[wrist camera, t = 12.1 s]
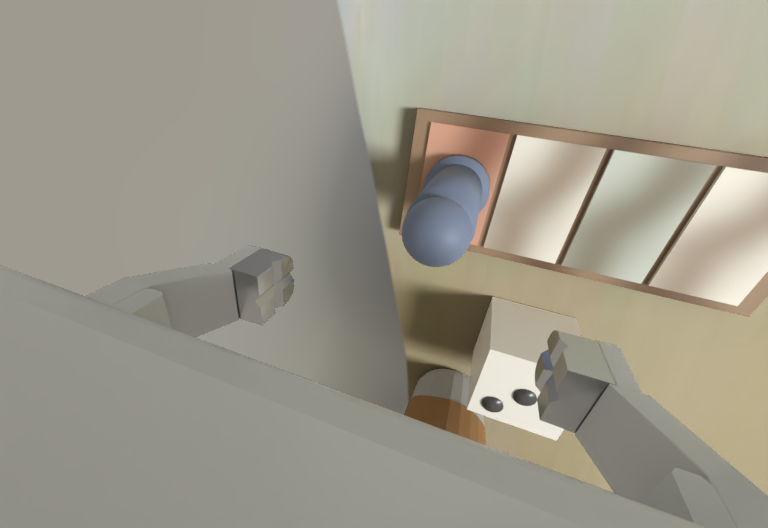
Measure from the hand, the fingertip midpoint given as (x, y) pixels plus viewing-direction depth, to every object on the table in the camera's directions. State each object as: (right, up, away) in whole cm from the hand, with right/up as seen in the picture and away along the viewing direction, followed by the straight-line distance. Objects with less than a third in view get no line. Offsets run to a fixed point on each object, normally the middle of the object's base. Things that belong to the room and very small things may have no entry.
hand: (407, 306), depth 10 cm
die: (+10, -4, +15) cm, 19 cm away
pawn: (+4, +6, +10) cm, 13 cm away
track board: (+11, +5, +10) cm, 16 cm away
